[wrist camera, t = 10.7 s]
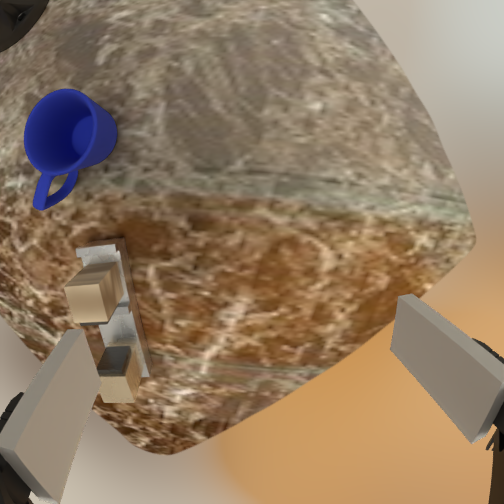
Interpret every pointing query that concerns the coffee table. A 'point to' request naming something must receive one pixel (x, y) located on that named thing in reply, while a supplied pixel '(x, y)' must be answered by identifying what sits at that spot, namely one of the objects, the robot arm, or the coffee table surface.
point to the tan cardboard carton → (94, 293)
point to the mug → (66, 140)
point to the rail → (120, 329)
